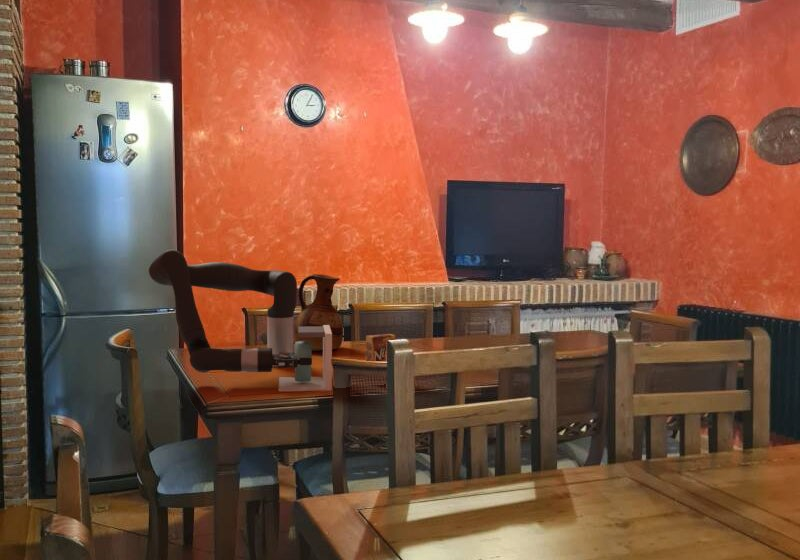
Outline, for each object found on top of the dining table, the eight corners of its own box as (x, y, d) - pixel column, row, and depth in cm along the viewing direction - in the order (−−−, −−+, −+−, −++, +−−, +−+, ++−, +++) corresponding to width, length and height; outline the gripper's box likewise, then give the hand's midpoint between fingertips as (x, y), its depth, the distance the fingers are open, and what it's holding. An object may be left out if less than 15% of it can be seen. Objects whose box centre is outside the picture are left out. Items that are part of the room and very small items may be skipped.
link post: (294, 378, 242) (295, 341, 241) (310, 378, 243) (310, 341, 242) (294, 382, 238) (295, 343, 236) (311, 381, 238) (311, 343, 237)
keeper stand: (279, 378, 248) (279, 325, 247) (328, 377, 251) (329, 324, 249) (278, 391, 231) (278, 334, 229) (331, 390, 233) (332, 333, 231)
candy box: (371, 384, 242) (371, 336, 240) (364, 382, 245) (364, 335, 244) (394, 381, 247) (395, 334, 245) (387, 379, 250) (388, 332, 249)
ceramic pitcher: (340, 354, 292) (341, 276, 289) (288, 353, 292) (288, 275, 289) (345, 345, 311) (345, 272, 309) (295, 344, 311) (296, 271, 309)
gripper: (255, 352, 230) (312, 352, 233) (257, 344, 245) (311, 343, 247) (255, 376, 231) (312, 376, 233) (257, 367, 245) (311, 366, 248)
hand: (311, 359), depth 240 cm, fingers closed on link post, 5 cm apart
